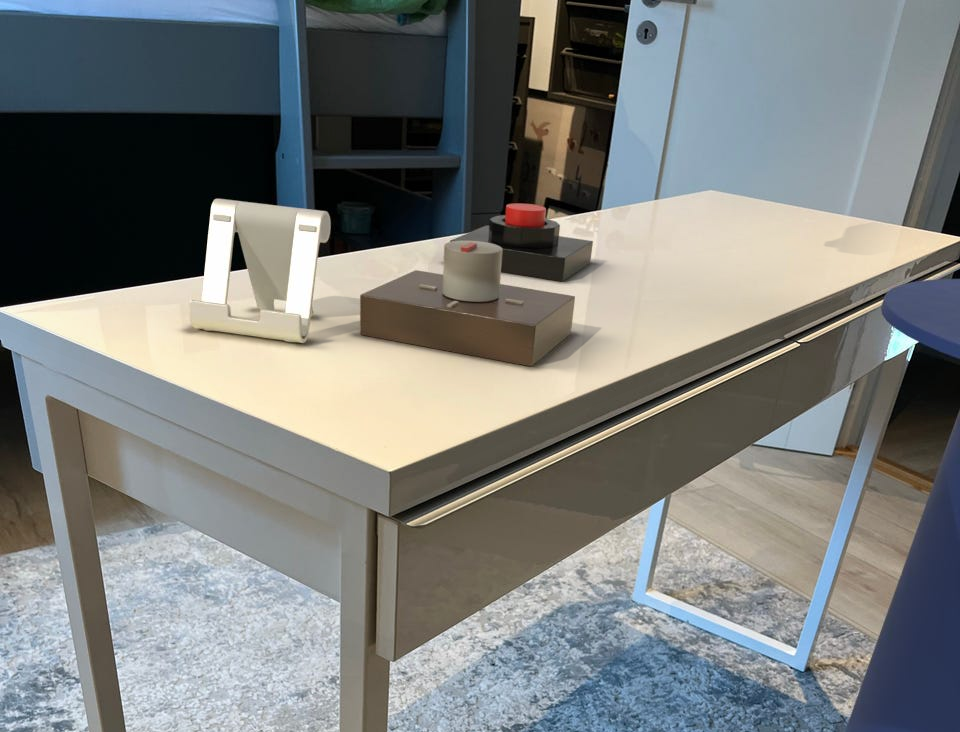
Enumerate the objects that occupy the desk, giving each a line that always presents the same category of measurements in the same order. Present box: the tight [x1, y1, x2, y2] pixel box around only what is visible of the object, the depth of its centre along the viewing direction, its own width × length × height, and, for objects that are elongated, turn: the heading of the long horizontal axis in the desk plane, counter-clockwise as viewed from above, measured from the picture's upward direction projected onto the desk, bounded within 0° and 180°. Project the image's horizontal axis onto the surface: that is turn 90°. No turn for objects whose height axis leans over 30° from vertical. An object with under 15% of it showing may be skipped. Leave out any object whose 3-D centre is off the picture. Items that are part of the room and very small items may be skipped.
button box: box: [449, 214, 594, 282], centre depth 97 cm, size 12×10×4 cm
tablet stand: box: [188, 198, 332, 344], centre depth 71 cm, size 9×8×8 cm
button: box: [504, 202, 547, 226], centre depth 96 cm, size 4×4×2 cm
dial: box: [442, 241, 503, 302], centre depth 73 cm, size 4×4×4 cm
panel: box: [359, 269, 576, 367], centre depth 75 cm, size 14×10×3 cm
